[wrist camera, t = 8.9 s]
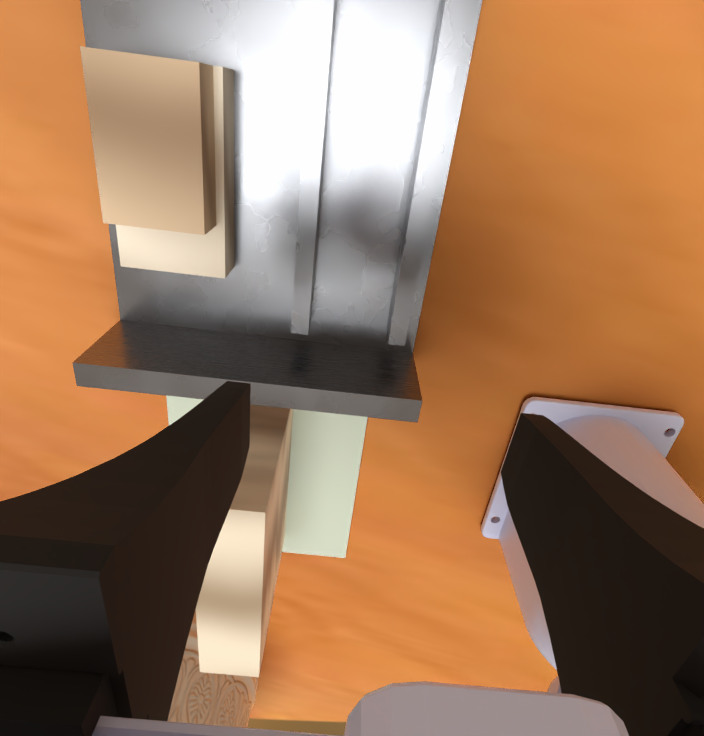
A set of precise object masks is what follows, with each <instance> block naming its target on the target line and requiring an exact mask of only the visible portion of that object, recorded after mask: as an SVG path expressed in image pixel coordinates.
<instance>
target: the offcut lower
mask: <svg viewBox="0 0 704 736" xmlns="http://www.w3.org/2000/svg"><path fill="white" fill-rule="evenodd" d="M213 79H214V129H215V178H216V226H215V227H214V228H213V229H211V230H210V231H209V232H208V233H207V234H205V235H199V234H191V233H183V232H174V231H166V230H158V229H149V228H141V227H133V226H124V225H116V231H117V240H118V248H119V256H120V265H121V266H122V267H130V268H139V269H147V270H156V271H165V272H173V273H182V274H190V275H199V276H207V277H216V278H224V279H225V278H226V277H227V276H228V275H229V273H230V272H231V271H232V269H233V268H234V70H233V69H229V68H225V67H219V66H213Z"/></svg>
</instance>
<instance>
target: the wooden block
mask: <svg viewBox="0 0 704 736" xmlns="http://www.w3.org/2000/svg"><path fill="white" fill-rule="evenodd" d="M292 422H293V409H288V408H279V407H269V406H260V405H251V404H250V446H249V450H248V455H247V459H246V463H245V467H244V471H243V474H242V478H241V481H240V484H239V486H238V489H237V491H236V494H235V496H234V499H233V502H232V504H231V507H230V509H229V512H228V514H227V517H226V519H225V522H224V524H223V527H222V529H221V532H220V534H219V537H218V539H217V542H216V544H215V547H214V549H213V552H212V555H211V558H210V561H209V564H208V567H207V570H206V574H205V577H204V581H203V584H202V588H201V591H200V595H199V599H198V602H197V606H196V621H197V636H198V652H199V667H200V672H204V673H216V674H227V675H239V676H250V677H259V675H260V669H261V664H262V658H263V653H264V647H265V642H266V636H267V631H268V625H269V620H270V614H271V609H272V603H273V598H274V592H275V587H276V581H277V576H278V570H279V565H280V559H281V554H282V548H283V543H284V537H285V526H286V511H287V496H288V481H289V466H290V452H291V437H292Z"/></svg>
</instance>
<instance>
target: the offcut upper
mask: <svg viewBox="0 0 704 736" xmlns="http://www.w3.org/2000/svg"><path fill="white" fill-rule="evenodd" d="M80 50H81V57H82V65H83V73H84V80H85V88H86V95H87V103H88V111H89V118H90V126H91V134H92V141H93V149H94V157H95V164H96V172H97V179H98V187H99V195H100V202H101V210H102V218H103V223H108V224H116V225H124V226H133V227H141V228H149V229H158V230H166V231H174V232H183V233H191V234H199V235H205V234H207V233H208V232H209V231H210V230H211V229H213V228H214V227H215V226H216V178H215V129H214V79H213V65H209V64H204V63H200V62H194V61H187V60H179V59H172V58H164V57H157V56H149V55H142V54H134V53H127V52H119V51H112V50H104V49H96V48H89V47H81V46H80Z"/></svg>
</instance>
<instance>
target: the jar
mask: <svg viewBox="0 0 704 736" xmlns="http://www.w3.org/2000/svg"><path fill="white" fill-rule="evenodd" d="M257 687H258V677H250V676H239V675H227V674H216V673H204V672H200V667H199V652H198V636H197V621H196V610H195V613H194V617H193V621H192V625H191V628H190V632H189V636H188V639H187V643H186V647H185V651H184V655H183V659H182V663H181V667H180V671H179V675H178V679H177V683H176V687H175V691H174V695H173V699H172V703H171V708H170V712H169V716H168V720H167V721H169V722H182V723H194V724H206V725H218V726H230V727H242V728H247V727H248V722H249V716H250V711H251V710H252V708H253V705H254V703H255V699H256V691H257Z"/></svg>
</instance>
